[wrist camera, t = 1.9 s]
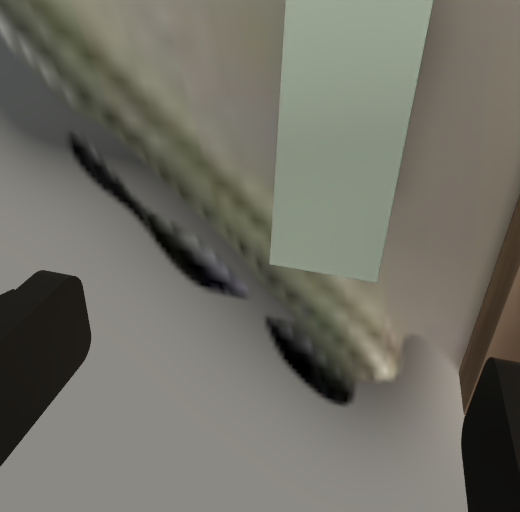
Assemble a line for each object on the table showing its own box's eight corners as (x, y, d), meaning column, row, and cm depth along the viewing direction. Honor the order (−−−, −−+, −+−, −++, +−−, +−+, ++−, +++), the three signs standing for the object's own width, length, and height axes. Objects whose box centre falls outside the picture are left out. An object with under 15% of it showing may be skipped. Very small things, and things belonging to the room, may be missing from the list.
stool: (427, -28, 25) (436, -19, 16) (385, 194, 31) (376, 282, 23) (326, -34, 26) (287, -28, 17) (305, 183, 32) (269, 264, 24)
